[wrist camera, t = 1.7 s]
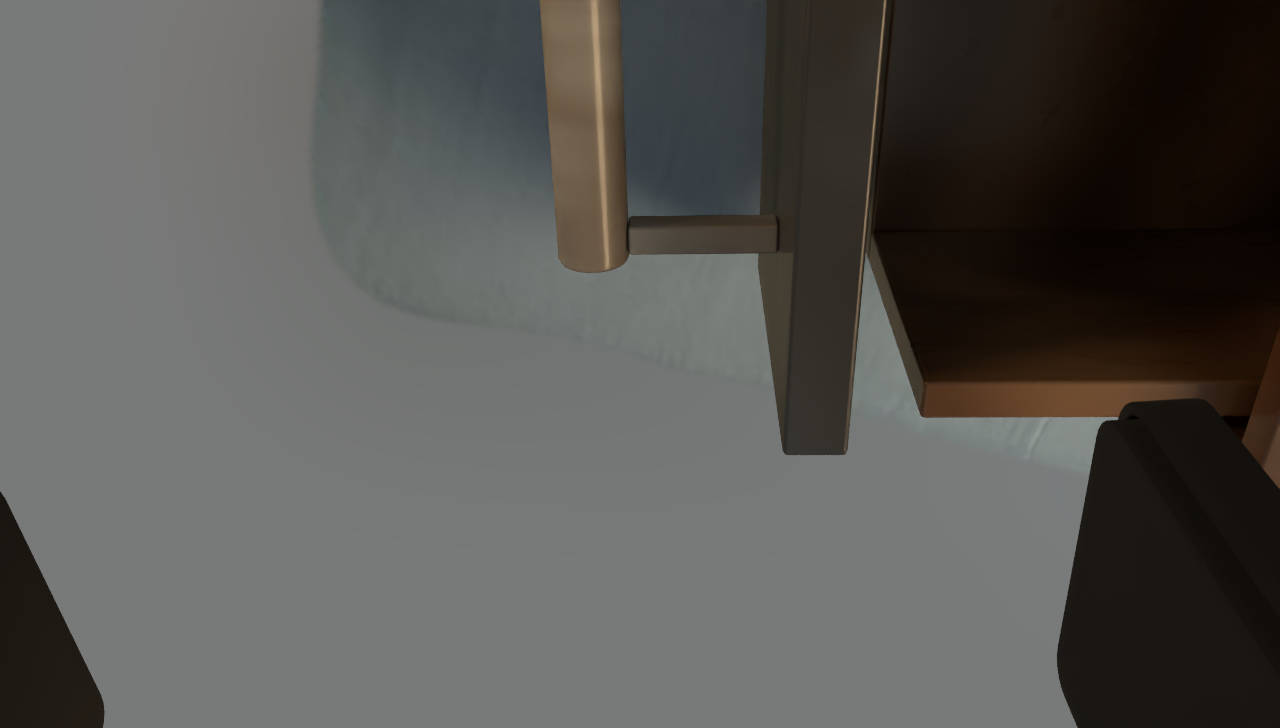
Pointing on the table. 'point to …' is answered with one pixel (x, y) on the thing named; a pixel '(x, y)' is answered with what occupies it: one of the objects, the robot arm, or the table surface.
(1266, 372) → the cabinet
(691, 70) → the table surface
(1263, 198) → the drawer
